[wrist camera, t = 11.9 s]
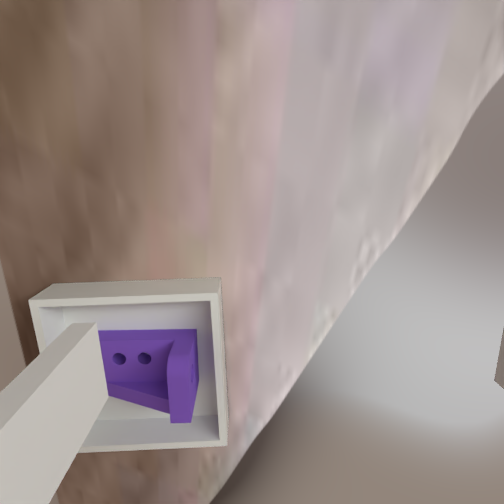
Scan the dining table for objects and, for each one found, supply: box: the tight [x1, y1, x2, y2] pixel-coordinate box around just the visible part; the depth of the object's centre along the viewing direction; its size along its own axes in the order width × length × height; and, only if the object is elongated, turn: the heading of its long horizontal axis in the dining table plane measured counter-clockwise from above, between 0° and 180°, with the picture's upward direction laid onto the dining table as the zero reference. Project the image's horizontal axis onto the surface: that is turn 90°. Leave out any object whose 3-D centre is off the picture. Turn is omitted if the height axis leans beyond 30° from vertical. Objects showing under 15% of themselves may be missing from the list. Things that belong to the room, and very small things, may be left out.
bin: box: [28, 277, 229, 453], centre depth 39 cm, size 19×19×5 cm
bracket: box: [98, 329, 199, 423], centre depth 37 cm, size 12×7×7 cm, turn 90°
